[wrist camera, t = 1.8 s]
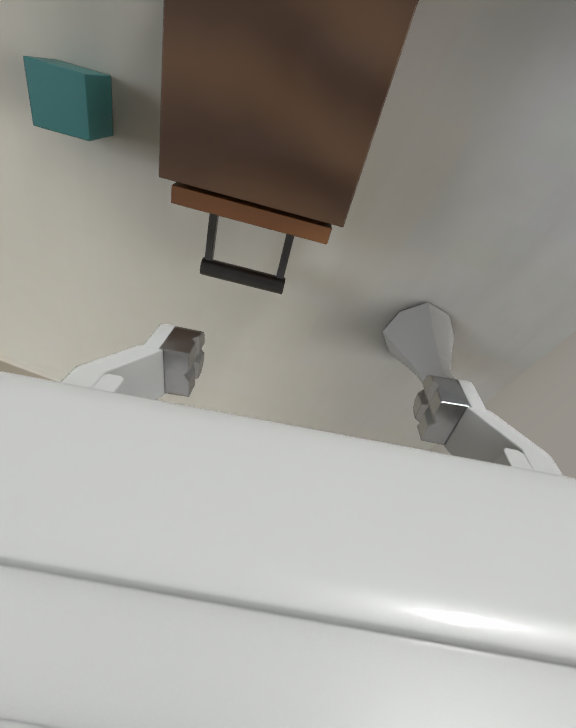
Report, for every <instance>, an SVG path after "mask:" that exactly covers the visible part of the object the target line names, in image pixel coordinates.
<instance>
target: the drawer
mask: <svg viewBox="0 0 576 728" xmlns="http://www.w3.org/2000/svg"><path fill="white" fill-rule="evenodd" d="M171 203H174V204H177V205H181V206H185V207H189V208H192V209H196V210H200V211H204V212H207V213H210V216H209V225H208V234H207V243H206V252H205V257H203V259H202V262H201V266H200V274H202V275H206V276H210V277H214V278H218V279H222V280H226V281H230V282H234V283H238V284H242V285H246V286H250V287H254V288H258V289H262V290H266V291H270V292H274V293H278V294H282V292H283V288H284V284H285V278H284V274H285V270H286V266H287V262H288V258H289V254H290V250H291V246H292V242H293V239H294V236H297V237H301V238H304V239H308V240H312V241H316V242H319V243H323V244H327V243H328V239H329V236H330V233H331V230H332V227H331V224H329V223H325V222H322V221H318V220H314V219H311V218H307V217H304V216H300V215H296V214H293V213H289V212H285V211H282V210H278V209H274V208H271V207H267V206H263V205H260V204H256V203H252V202H249V201H245V200H241V199H238V198H234V197H231V196H227V195H223V194H220V193H216V192H212V191H209V190H205V189H201V188H198V187H194V186H190V185H187V184H183V183H179V182H176V183H174V184H173V185H172V193H171ZM219 216H222V217H226V218H230V219H233V220H237V221H241V222H245V223H248V224H252V225H256V226H260V227H263V228H267V229H271V230H275V231H278V232H282V233H286V238H285V242H284V247H283V251H282V255H281V259H280V263H279V267H278V271H277V276H276V275H272V274H268V273H264V272H260V271H256V270H252V269H248V268H244V267H240V266H236V265H232V264H229V263H225V262H221V261H217V260H213V257H214V249H215V241H216V233H217V225H218V217H219Z"/></svg>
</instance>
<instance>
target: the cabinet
mask: <svg viewBox="0 0 576 728" xmlns="http://www.w3.org/2000/svg"><path fill="white" fill-rule="evenodd" d="M418 1H419V0H164V12H163V47H162V82H161V118H160V153H159V177H161V178H165V179H168V180H172V181H176V182H179V183H183V184H187V185H190V186H194V187H198V188H201V189H205V190H209V191H212V192H216V193H220V194H223V195H227V196H231V197H234V198H238V199H241V200H245V201H249V202H252V203H256V204H260V205H263V206H267V207H271V208H274V209H278V210H282V211H285V212H289V213H293V214H296V215H300V216H304V217H307V218H311V219H314V220H318V221H322V222H325V223H329V224H333V225H336V226H340V227H343V226H344V223H345V220H346V217H347V214H348V211H349V208H350V205H351V202H352V199H353V196H354V193H355V190H356V187H357V184H358V181H359V178H360V175H361V172H362V169H363V166H364V163H365V160H366V157H367V154H368V151H369V148H370V145H371V142H372V139H373V136H374V133H375V130H376V127H377V124H378V121H379V118H380V115H381V112H382V109H383V106H384V103H385V100H386V97H387V94H388V91H389V88H390V85H391V82H392V79H393V76H394V73H395V70H396V67H397V64H398V61H399V58H400V55H401V52H402V49H403V46H404V43H405V40H406V37H407V34H408V31H409V28H410V25H411V22H412V19H413V16H414V13H415V10H416V7H417V4H418Z"/></svg>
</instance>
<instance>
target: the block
mask: <svg viewBox="0 0 576 728" xmlns="http://www.w3.org/2000/svg"><path fill="white" fill-rule="evenodd" d="M23 59H24V65H25V72H26V79H27V85H28V92H29V99H30V105H31V112H32V119H33V125H34V126H37V127H41V128H44V129H48V130H52V131H55V132H59V133H62V134H66V135H69V136H73V137H77V138H80V139H84V140H87V141H92V140H96V139H100V138H105V137H109V136H113V122H112V96H111V76H110V75H107V74H103V73H100V72H97V71H93V70H90V69H87V68H83V67H80V66H77V65H73V64H70V63H66V62H63V61H60V60H56V59H47V58H39V57H30V56H23Z"/></svg>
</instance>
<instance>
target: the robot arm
mask: <svg viewBox="0 0 576 728" xmlns="http://www.w3.org/2000/svg"><path fill="white" fill-rule="evenodd" d="M204 343H205V334H204V332H201V331H197V330H192V329H187V328H182V327H178V326H177V327H176V326H173V325H167V324H160V325H159V327H158V328H157V329H156V330H155V332H154V333H153V334H152V335H151V337H150V338H149V339H148V340H147V341H146V343H145V344H144V345H143V346H141V345H138V346H135V347H132V348H129V349H126V350H123V351H120V352H117V353H114V354H112V355H109V356H106V357H103V358H100V359H97V360H94V361H91V362H88V363H85V364H82V365H79V366H76V367H75V368H74V369H73V370H72V371H71V372H70V373H69V374H68V375H67V376H66V377H65V378H64V379H63V380H62V381H61V382H56V381H50V380H44V379H39V378H34V377H29V376H23V375H18V374H13V373H7V372H2V371H0V728H576V478H570V477H566V476H563V475H562V473H561V472H560V470H559V468H558V467H557V465H556V464H555V462H554V461H553V459H552V457H551V456H550V455H549V454H547V453H546V452H545V451H543V450H542V449H541V448H539V447H538V446H537V445H535V444H534V443H533V442H531V441H530V440H529V439H527V438H526V437H525V436H523V435H522V434H521V433H519V432H518V431H517V430H515V429H514V428H513V427H511V426H510V425H509V424H507V423H506V422H504V421H503V420H501V419H500V418H499V417H498V416H496V415H495V414H494V413H492V412H491V411H487V410H486V408H485V406H484V405H483V403H482V401H481V399H480V397H479V395H478V393H477V391H476V389H475V388H474V386H473V384H472V383H471V382H470V381H464V380H457V379H450V378H444V377H438V376H432V375H427V377H426V378H425V379H424V381H423V383H422V384H423V387H424V390H422V391H421V392H419V393H418V394H417V396H416V398H415V401H414V407H413V412H414V417H415V419H416V420H417V421H419V424H418V426H417V428H418V431H419V435H420V438H421V440H422V441H427V442H432V443H437V444H441V445H445V448H446V449H447V450H448V451H449V452H450V453H451V455H448V454H442V453H437V452H432V451H426V450H421V449H416V448H410V447H405V446H399V445H394V444H389V443H383V442H378V441H373V440H367V439H362V438H356V437H351V436H346V435H340V434H335V433H330V432H324V431H319V430H313V429H308V428H303V427H297V426H292V425H287V424H281V423H276V422H270V421H265V420H260V419H254V418H249V417H244V416H238V415H233V414H227V413H222V412H217V411H211V410H206V409H201V408H195V407H190V406H185V405H179V404H174V403H168V402H163V401H158V400H156V399H158V398H159V397H161V396H163V395H164V394H165V393H168V394H174V395H180V396H187V397H189V396H190V394H191V392H192V390H193V388H194V386H195V379H196V378H198V377H199V376H200V373H201V371H202V367H203V362H204V352H203V350H202V349H201V348H202V346H203V345H204Z"/></svg>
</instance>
